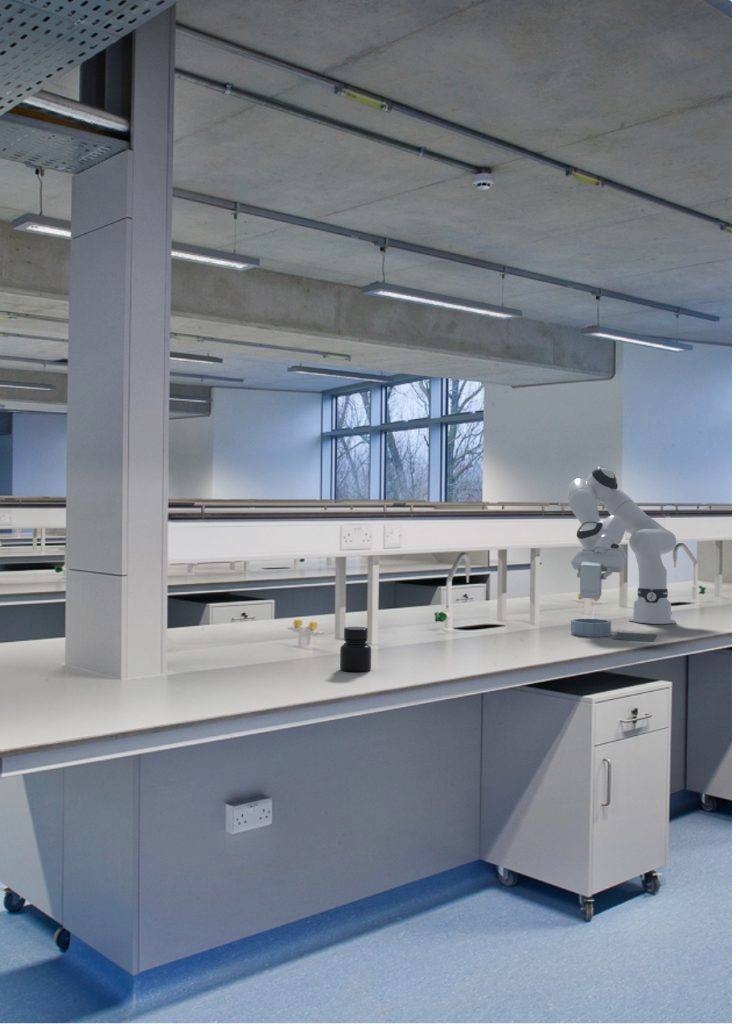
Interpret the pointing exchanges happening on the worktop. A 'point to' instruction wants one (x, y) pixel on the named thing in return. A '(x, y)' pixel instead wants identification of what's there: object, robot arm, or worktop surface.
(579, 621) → the bowl
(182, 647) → the worktop surface
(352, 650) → the ink bottle
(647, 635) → the mat
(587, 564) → the supplement box
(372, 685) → the worktop surface
